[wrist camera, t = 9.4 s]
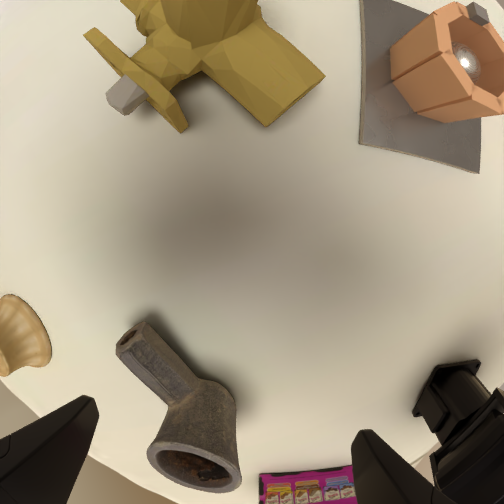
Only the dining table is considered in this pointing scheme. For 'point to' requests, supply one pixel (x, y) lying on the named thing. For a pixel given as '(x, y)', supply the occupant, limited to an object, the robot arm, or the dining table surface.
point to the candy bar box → (308, 487)
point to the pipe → (185, 416)
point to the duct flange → (394, 104)
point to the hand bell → (21, 336)
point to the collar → (450, 65)
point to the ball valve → (206, 58)
